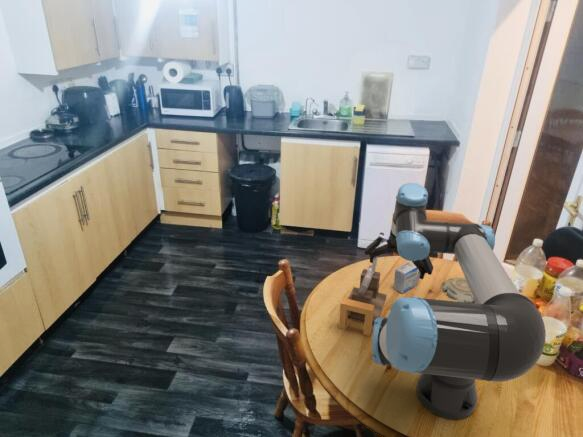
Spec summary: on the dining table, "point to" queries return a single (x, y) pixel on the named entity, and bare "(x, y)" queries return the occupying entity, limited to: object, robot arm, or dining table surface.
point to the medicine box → (405, 277)
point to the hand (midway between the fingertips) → (394, 275)
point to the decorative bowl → (458, 290)
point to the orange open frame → (359, 308)
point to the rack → (368, 294)
